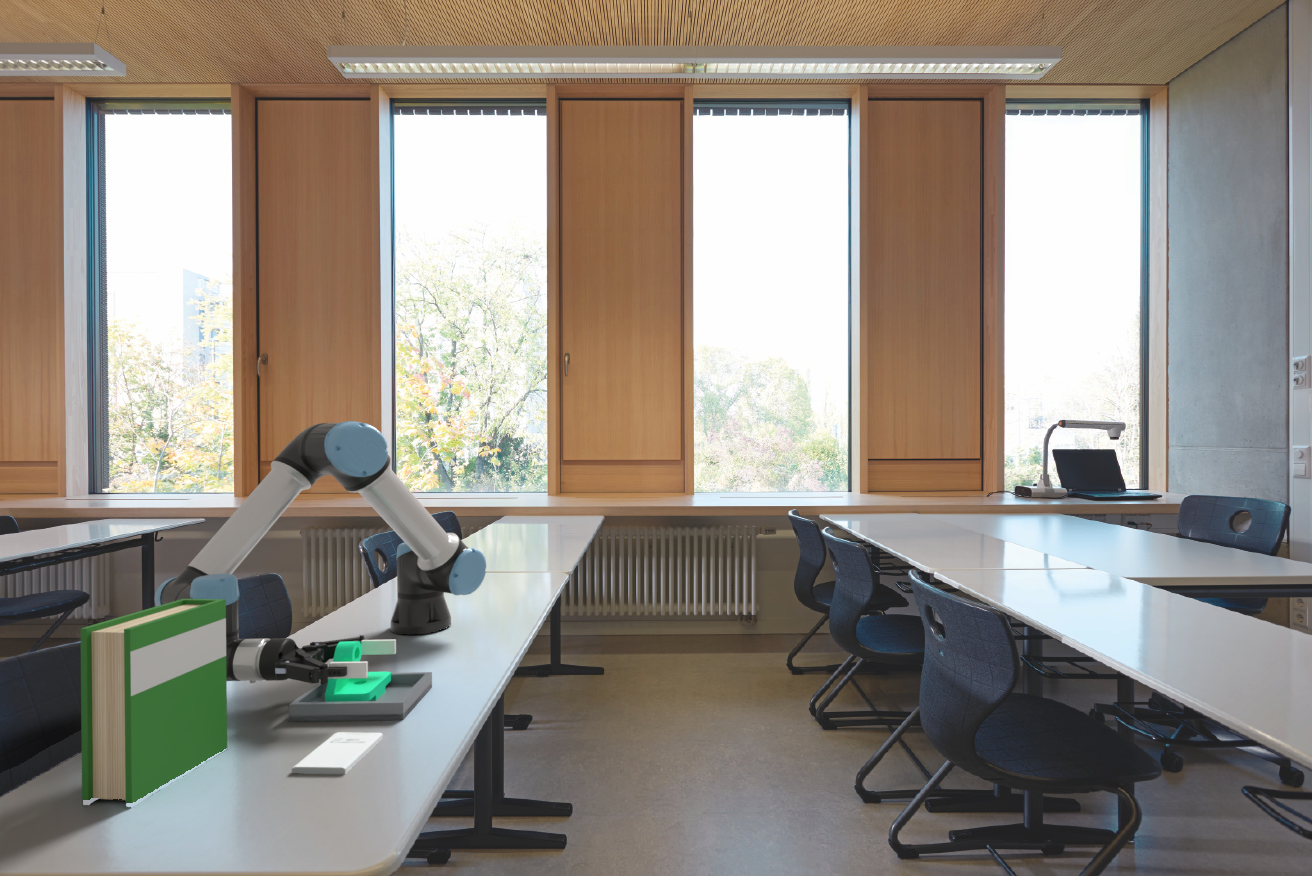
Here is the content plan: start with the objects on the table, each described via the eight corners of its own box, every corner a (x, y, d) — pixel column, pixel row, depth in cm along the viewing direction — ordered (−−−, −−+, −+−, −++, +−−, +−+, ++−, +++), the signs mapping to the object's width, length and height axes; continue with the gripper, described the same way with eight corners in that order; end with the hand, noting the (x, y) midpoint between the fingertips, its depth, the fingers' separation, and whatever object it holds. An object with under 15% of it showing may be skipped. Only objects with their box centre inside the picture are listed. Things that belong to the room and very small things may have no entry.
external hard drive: (291, 777, 102) (334, 741, 114) (345, 778, 102) (383, 741, 114) (291, 766, 102) (334, 731, 114) (345, 767, 102) (383, 731, 114)
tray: (331, 689, 137) (330, 673, 137) (432, 687, 137) (431, 672, 137) (289, 721, 121) (288, 704, 121) (403, 719, 121) (403, 702, 121)
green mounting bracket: (368, 708, 124) (367, 651, 124) (325, 709, 124) (324, 651, 124) (392, 684, 136) (392, 632, 136) (353, 685, 136) (353, 633, 136)
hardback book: (131, 808, 93) (130, 629, 93) (82, 805, 94) (80, 628, 94) (227, 749, 110) (225, 599, 111) (184, 748, 111) (183, 598, 111)
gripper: (301, 658, 142) (405, 656, 142) (227, 705, 117) (353, 703, 117) (301, 621, 142) (405, 620, 142) (226, 660, 117) (353, 658, 117)
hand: (382, 657), depth 129 cm, fingers open, 13 cm apart
